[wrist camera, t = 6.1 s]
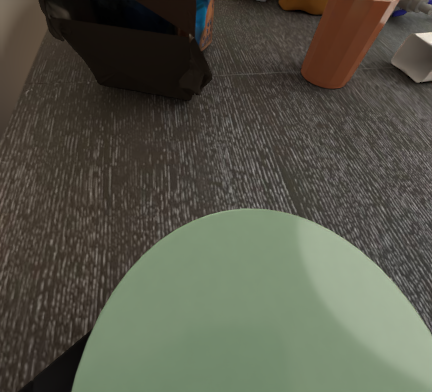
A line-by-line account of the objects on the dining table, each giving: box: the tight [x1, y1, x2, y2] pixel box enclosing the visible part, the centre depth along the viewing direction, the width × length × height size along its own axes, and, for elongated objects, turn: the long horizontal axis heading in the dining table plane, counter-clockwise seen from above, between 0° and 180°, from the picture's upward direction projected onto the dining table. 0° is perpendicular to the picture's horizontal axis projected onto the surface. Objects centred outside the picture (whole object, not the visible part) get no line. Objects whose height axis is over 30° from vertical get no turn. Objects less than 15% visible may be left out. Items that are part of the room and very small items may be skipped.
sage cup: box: [71, 209, 432, 392], centre depth 8 cm, size 7×7×10 cm
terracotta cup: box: [301, 0, 400, 89], centre depth 26 cm, size 7×7×9 cm
